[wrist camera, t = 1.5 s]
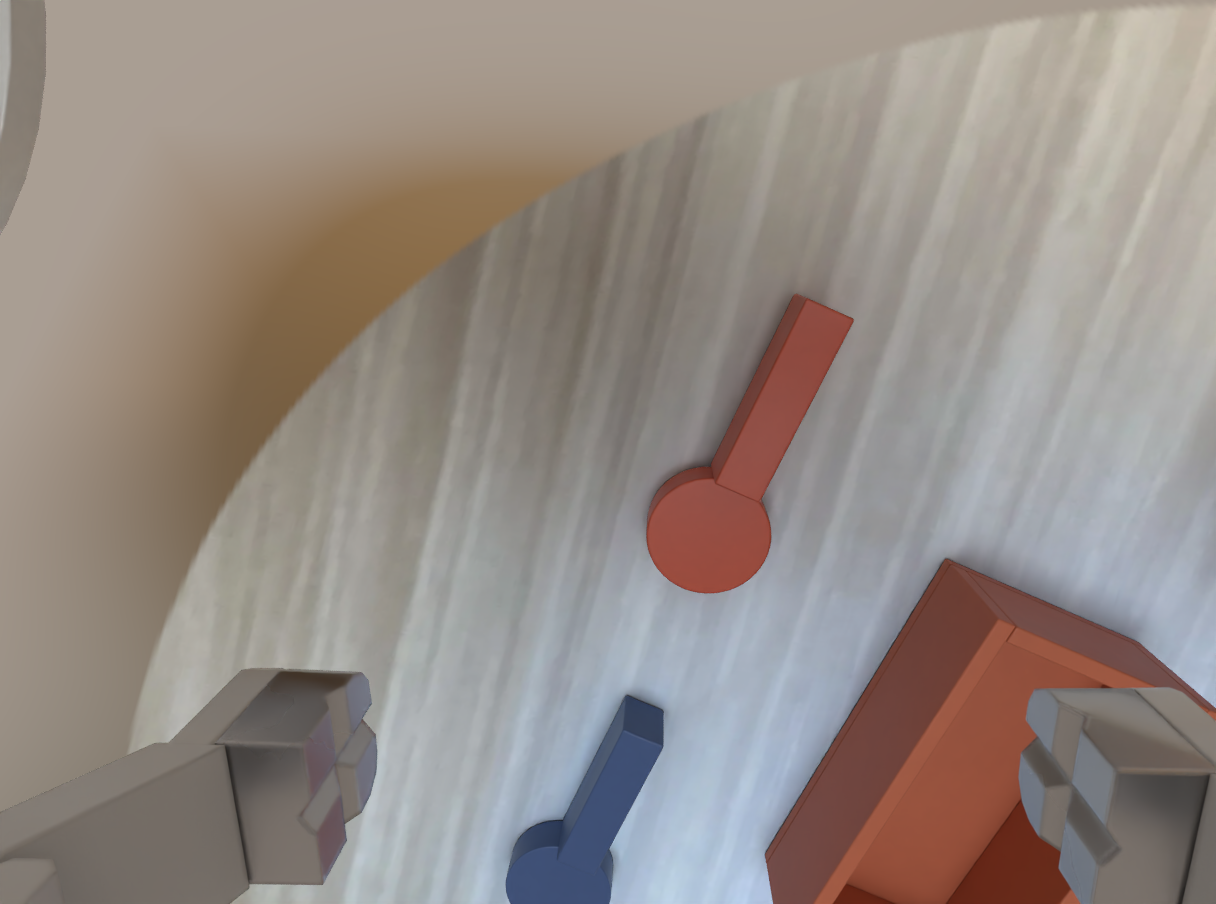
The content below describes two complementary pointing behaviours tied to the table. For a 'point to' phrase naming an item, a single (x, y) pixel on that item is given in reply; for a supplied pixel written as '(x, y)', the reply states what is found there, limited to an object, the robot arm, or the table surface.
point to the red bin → (949, 755)
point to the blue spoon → (589, 818)
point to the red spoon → (744, 461)
